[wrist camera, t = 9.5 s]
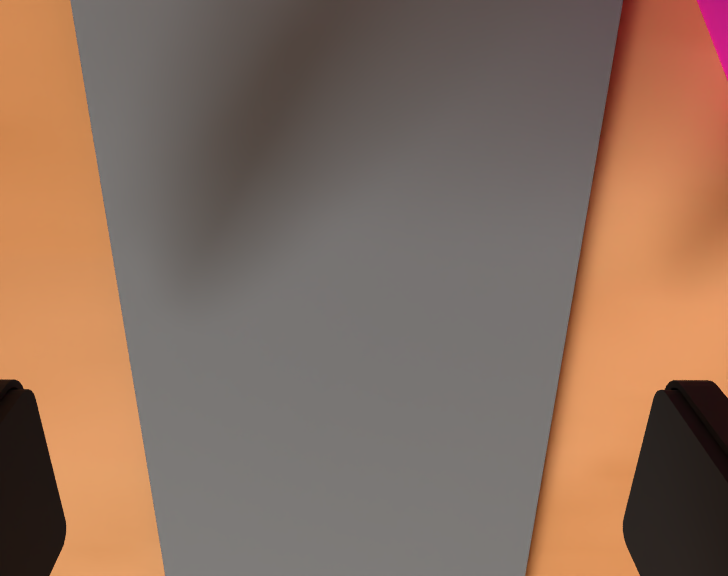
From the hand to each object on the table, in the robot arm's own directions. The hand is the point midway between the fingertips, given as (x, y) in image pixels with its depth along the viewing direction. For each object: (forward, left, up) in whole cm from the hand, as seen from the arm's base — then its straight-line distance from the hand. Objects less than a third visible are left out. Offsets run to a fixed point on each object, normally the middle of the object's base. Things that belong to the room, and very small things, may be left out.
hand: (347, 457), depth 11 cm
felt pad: (0, 0, -4) cm, 4 cm away
